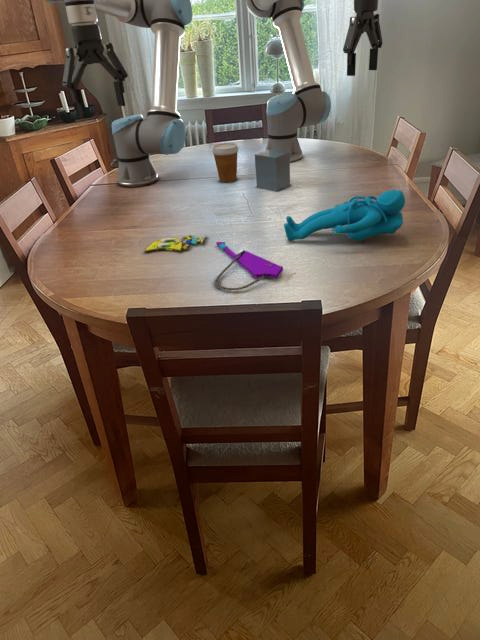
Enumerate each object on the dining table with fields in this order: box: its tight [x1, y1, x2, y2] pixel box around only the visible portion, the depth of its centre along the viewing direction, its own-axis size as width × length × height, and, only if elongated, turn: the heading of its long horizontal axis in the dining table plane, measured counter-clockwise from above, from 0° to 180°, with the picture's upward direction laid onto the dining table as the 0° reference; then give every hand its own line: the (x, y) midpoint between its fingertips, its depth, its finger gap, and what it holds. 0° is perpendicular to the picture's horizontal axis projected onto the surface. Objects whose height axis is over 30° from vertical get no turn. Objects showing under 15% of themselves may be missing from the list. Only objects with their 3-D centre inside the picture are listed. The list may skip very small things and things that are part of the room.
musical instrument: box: [214, 241, 284, 291], centre depth 115 cm, size 24×2×20 cm
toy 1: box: [144, 234, 207, 254], centre depth 130 cm, size 10×1×15 cm
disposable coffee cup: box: [211, 142, 239, 183], centre depth 173 cm, size 10×10×12 cm
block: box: [254, 149, 291, 192], centre depth 163 cm, size 7×9×11 cm
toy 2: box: [283, 189, 406, 243], centre depth 123 cm, size 17×11×30 cm
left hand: (102, 110), depth 139 cm, fingers open, 13 cm apart
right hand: (362, 72), depth 161 cm, fingers open, 13 cm apart
